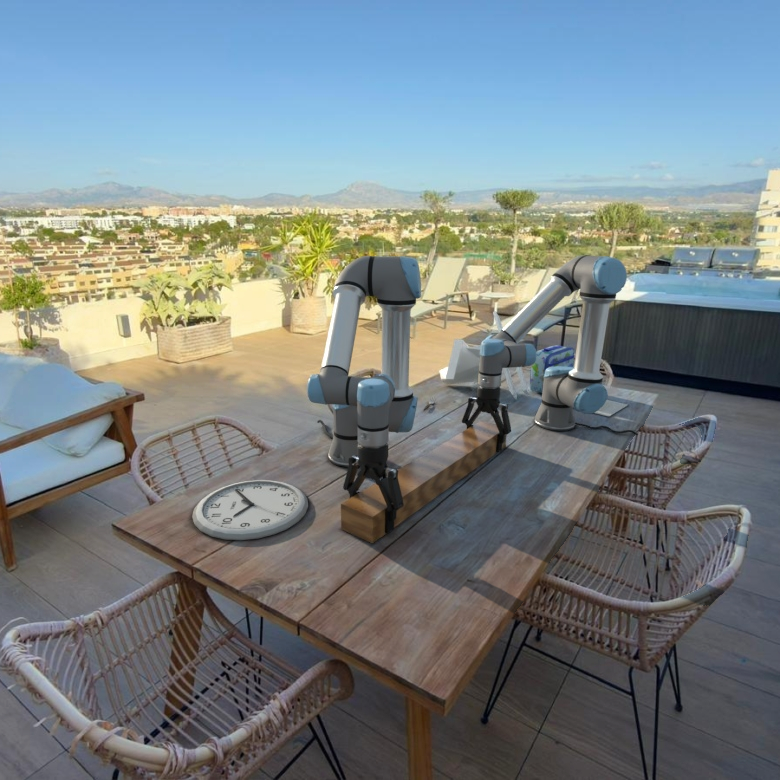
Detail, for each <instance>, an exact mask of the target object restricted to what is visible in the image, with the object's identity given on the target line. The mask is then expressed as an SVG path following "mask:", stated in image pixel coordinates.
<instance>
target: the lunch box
mask: <svg viewBox="0 0 780 780" xmlns="http://www.w3.org/2000/svg"><path fill="white" fill-rule="evenodd" d="M536 353H537V356H536V361H535V363H534V364H533V365H531V366H530V374H529V391H532V392H536V393H540V394H542V392H543V381H544V374H545V370H546V369H547V368H549V367H556V366H564V367H573V368H574V363H575V348H573V347H571V346H570V347H568V346H563V345H551V346H548V347H544V348H543V349H539V350H536Z"/></svg>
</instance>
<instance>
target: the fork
mask: <svg viewBox="0 0 780 780" xmlns="http://www.w3.org/2000/svg"><path fill="white" fill-rule="evenodd" d="M436 400H437V397H436V396H432V395H431V396H430V399H429V401H428V404H426V405H425V407H424V409H423V411H422V412H424V411H426V410H428V408H429V407H430V406H431V405H433V404H435V403H436Z"/></svg>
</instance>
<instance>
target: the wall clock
mask: <svg viewBox="0 0 780 780" xmlns="http://www.w3.org/2000/svg"><path fill="white" fill-rule="evenodd" d="M308 509H309V502H308V498H307V496H306V494H305V493H304V492H303V491H302V490H300V489H299V488H297V487H296V486H294V485H292V484H289V483H286V482H284V481H283V482H282V481H276V480H268V479H267V480H266V479H257V480H245V481H240V482H236V483H231V484H229V485H226V486H223V487H220V488H218V489H216V490H214V491H212V492H210V493H209V494H207V495H205V497H203V498H202V499H201V500H200V501H198V503H197V504H196V506H195V507H194V508H193V512H192V516H191V517H192V521H193V524H194V526H195V527H196V528H197V530H199V531H200V532H201V533H203V534H206V535H207V536H210V537H212V538H216V539H222V540H226V541H227V540H229V541H245V540H246V541H247V540H256V539H261V538H265V537H266V538H267V537H271V536H274V535H276V534H278V533H281V532H283V531H286V530H288V529H289V528H291V527H293V526H295V525H296V524H297V523H299V522H300V521H301V520H302V518H304V516H305V515H306V513H307V511H308Z"/></svg>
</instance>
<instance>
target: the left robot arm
mask: <svg viewBox="0 0 780 780" xmlns="http://www.w3.org/2000/svg"><path fill="white" fill-rule="evenodd" d="M366 297H372V298H373V297H374V298H375V297H376V304H377V305H378V306H379V307H380V308H381V353H380V355H381V358H380V359H381V361H380V362H381V365H380V371H381V373H377V374H376V375H372V376H371V377H369V376H367V377H366V376H351V375H350V368H351V363H352V357H353V351H354V345H355V340H356V334H357V329H358V323H359V319H360V318H359V316H360V313H361V312H360V311H361V306H362V305H363V304H364V303H365V302H366ZM421 297H422V280H421V271H420V265H419V262H418V260H417V259H416V258H414V257H411V256H381V255H379V256H377V255H375V256H373V255H364V256H360V257H358V258H355V259H354V260H352V261H351V262H349V263H348V264H347V265H346V266H345V267H344V268H343V269H342V270H341V272H340V273H339V275H338V277H337V278H336V280H335V282H334V285H333V289H332V298H333V300H334V301H333V306H332V311H331V317H330V321H329V325H328V331H327V334H326V341H325V346H324V349H323V350H324V351H323V354H322V360H321V365H320V368H319V369H320V370H319V373H316V374H311V375H310V376H309V378H308V380H307V385H306V392H307V393H306V394H307V397H308V400H309V402H310V403H314V404H319V405H332V414H333V415H332V416H333V418H332V419H333V435H332V434H331V433H329V432H328V428H327V425H326V424H325V423H324V421H323V420H322V419H318V420H317V421H316V423H317V424H319V423H320V424H321V425H322V427H323V429H324V433H325V435H326V436H328V437H329V438H330V439H331V440H332V441H331V444H330V446H329V450H328V460H329V462H330V463H331V464H333V465H335V466H338V467H343V468H347V471H346V475H345V478H344V483H343V486H342V489H343V490H344V491H347V492H348V494H349V498H351V497H353V496H355V495H356V494H358V493H360V492H361V491H360V488H361V487H362V485H363V483H364V481H366V479H371V480H372V481H374V482H375V483H376V484H377V485H378V486H379V488H380V490H381V493H382V495H383V497H384V500H385V502H386V504H387V507H388V508H386V509H385V533H386V534H389V533H390V532H392V531H393V530H394V529H395V528H394V520H395V519H396V513H397V510H399V509H400V508H401V507H403V506H404V503H403V499H402V494H401V490H400V485H399V481H398V470H399V469H398V468H396V467H395V468H390V467H389V465H388V458H389V441H390V440H389V436H390V435H389V434H390V433H396V434H398V433H410V432H411V431H412V430H413V426H414V423H415V417H416V412H417V407H418V399H419V397H418V396H416V395H414V390H413V388H412V387H410V385H409V381H410V351H411V350H410V349H411V347H410V342H411V311H412V309H413V308H414V307H415V306H416V305H417V299H421ZM349 375H350V376H349ZM358 468H360V470H359V471H358ZM357 472H358V473H357ZM356 476H357V477H356Z"/></svg>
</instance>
